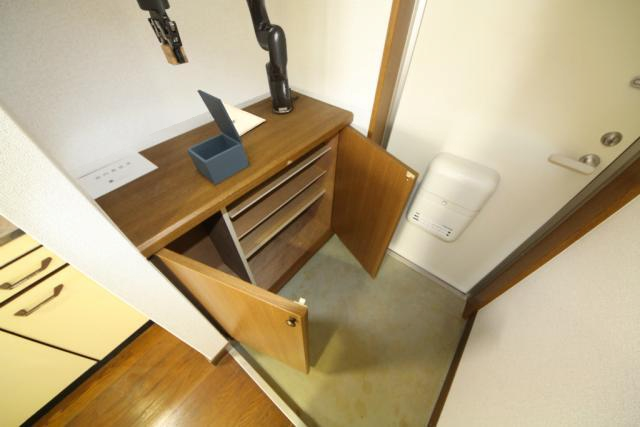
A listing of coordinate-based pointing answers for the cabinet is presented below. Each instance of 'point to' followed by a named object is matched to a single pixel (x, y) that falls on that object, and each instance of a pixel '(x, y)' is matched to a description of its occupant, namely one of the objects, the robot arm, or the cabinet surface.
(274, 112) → the robot arm
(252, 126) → the white triangular panel
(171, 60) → the block
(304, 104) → the cabinet surface
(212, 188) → the cabinet surface
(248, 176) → the cabinet surface
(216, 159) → the chest
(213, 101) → the lid
